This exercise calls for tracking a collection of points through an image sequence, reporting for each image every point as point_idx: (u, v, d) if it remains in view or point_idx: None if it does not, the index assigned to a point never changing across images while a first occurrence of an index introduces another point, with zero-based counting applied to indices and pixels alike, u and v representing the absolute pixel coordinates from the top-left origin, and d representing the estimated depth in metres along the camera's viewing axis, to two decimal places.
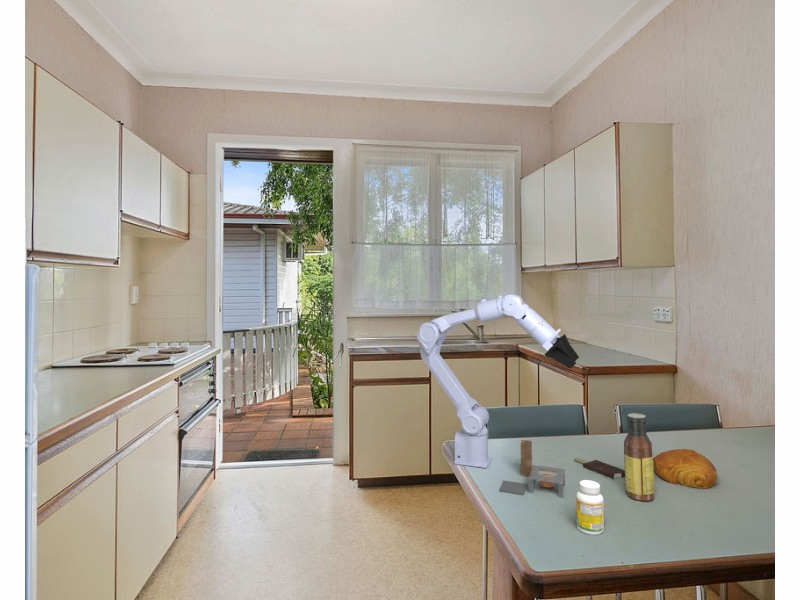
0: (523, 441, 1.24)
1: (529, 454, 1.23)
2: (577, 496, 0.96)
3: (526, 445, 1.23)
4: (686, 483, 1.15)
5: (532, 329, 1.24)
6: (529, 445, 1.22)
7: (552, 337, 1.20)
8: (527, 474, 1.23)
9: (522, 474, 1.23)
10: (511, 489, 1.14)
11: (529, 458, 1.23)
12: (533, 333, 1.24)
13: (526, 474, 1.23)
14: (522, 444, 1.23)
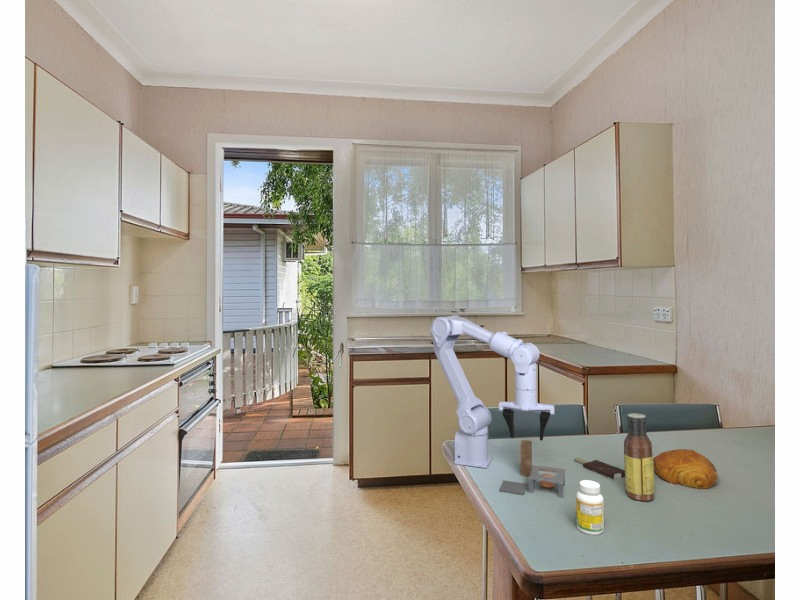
0: (523, 441, 1.24)
1: (529, 454, 1.23)
2: (577, 496, 0.96)
3: (526, 444, 1.23)
4: (686, 483, 1.15)
5: (519, 388, 1.22)
6: (529, 445, 1.22)
7: (510, 406, 1.24)
8: (527, 474, 1.23)
9: (522, 474, 1.23)
10: (511, 489, 1.14)
11: (529, 458, 1.23)
12: None
13: (526, 474, 1.23)
14: (522, 444, 1.23)
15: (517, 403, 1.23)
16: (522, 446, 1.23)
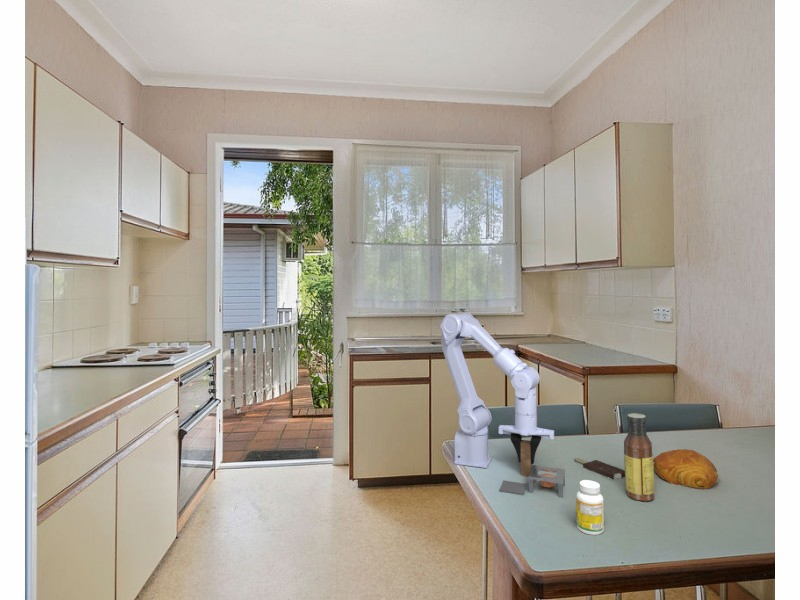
0: (523, 441, 1.24)
1: (529, 454, 1.23)
2: (577, 496, 0.96)
3: (526, 444, 1.23)
4: (687, 483, 1.15)
5: (518, 413, 1.22)
6: (529, 445, 1.22)
7: (510, 430, 1.24)
8: (527, 474, 1.23)
9: (522, 474, 1.23)
10: (511, 489, 1.14)
11: (529, 458, 1.23)
12: None
13: (526, 474, 1.23)
14: (522, 444, 1.23)
15: (517, 427, 1.23)
16: (522, 446, 1.23)
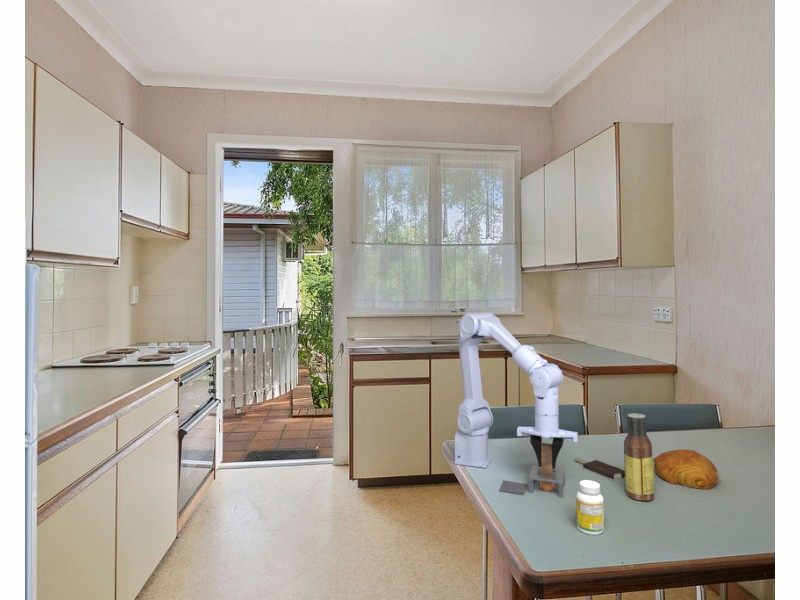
0: (544, 444, 1.15)
1: (550, 458, 1.14)
2: (577, 496, 0.96)
3: (548, 448, 1.14)
4: (687, 484, 1.15)
5: (537, 413, 1.14)
6: (550, 449, 1.14)
7: (529, 432, 1.15)
8: None
9: None
10: (511, 489, 1.14)
11: (550, 463, 1.14)
12: None
13: None
14: (543, 448, 1.14)
15: (537, 429, 1.14)
16: (543, 450, 1.14)
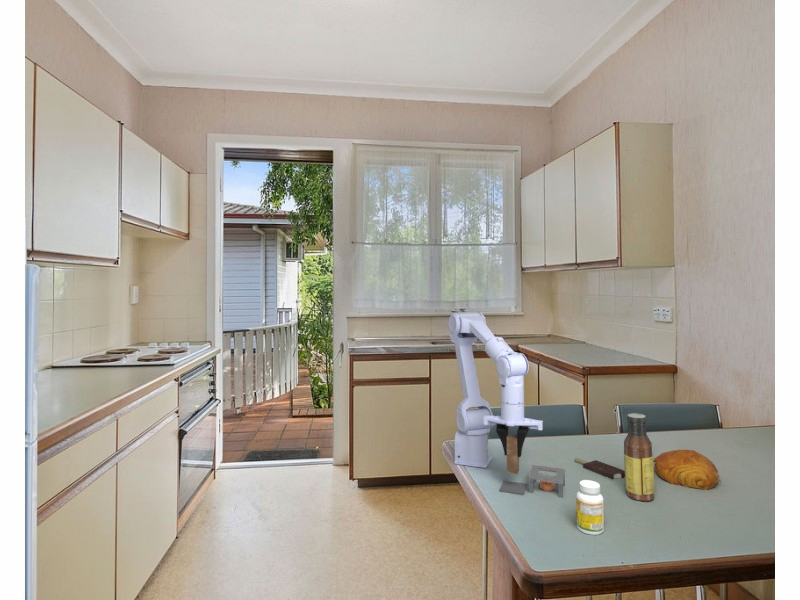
0: (509, 436, 1.15)
1: (516, 450, 1.14)
2: (577, 496, 0.96)
3: (513, 439, 1.14)
4: (687, 484, 1.14)
5: (501, 400, 1.15)
6: (516, 440, 1.14)
7: (495, 421, 1.15)
8: (514, 471, 1.14)
9: (508, 471, 1.14)
10: (511, 489, 1.14)
11: (516, 454, 1.14)
12: None
13: (512, 471, 1.14)
14: (508, 439, 1.14)
15: (503, 418, 1.14)
16: (508, 441, 1.14)
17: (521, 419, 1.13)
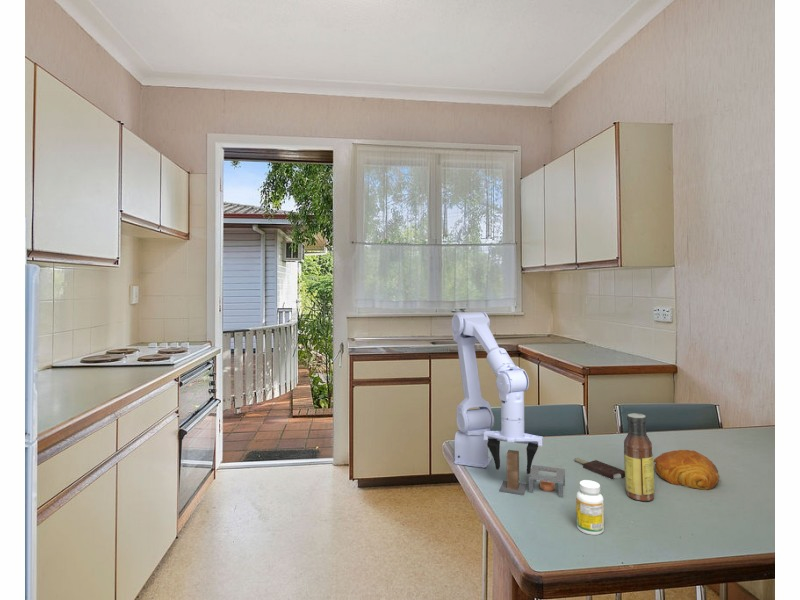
0: (510, 451, 1.16)
1: (516, 465, 1.14)
2: (577, 496, 0.96)
3: (513, 455, 1.14)
4: (687, 484, 1.14)
5: (501, 416, 1.15)
6: (516, 456, 1.14)
7: (495, 436, 1.15)
8: (514, 487, 1.14)
9: (508, 487, 1.15)
10: (511, 489, 1.14)
11: (516, 470, 1.14)
12: None
13: (513, 487, 1.14)
14: (508, 454, 1.14)
15: (503, 433, 1.14)
16: (508, 457, 1.14)
17: (521, 435, 1.13)
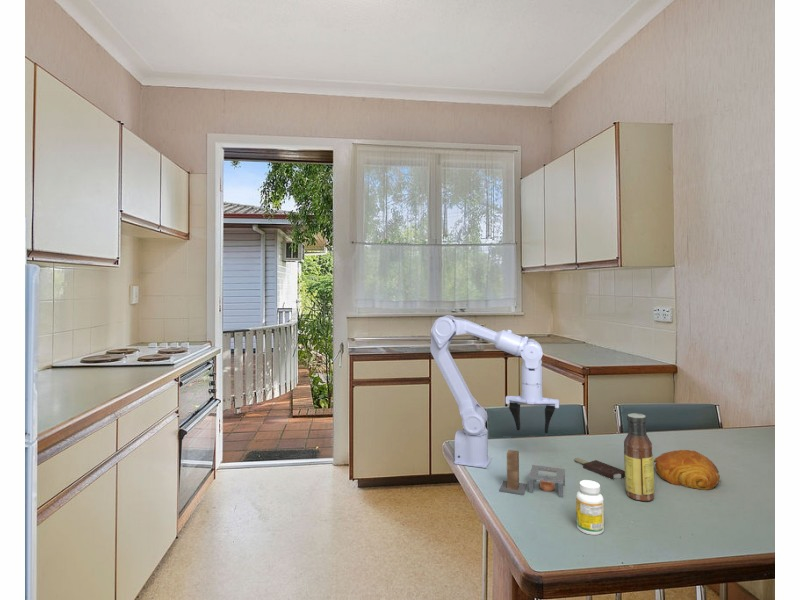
0: (510, 451, 1.16)
1: (516, 465, 1.14)
2: (577, 496, 0.96)
3: (513, 455, 1.14)
4: (688, 484, 1.14)
5: (528, 383, 1.26)
6: (516, 456, 1.14)
7: (516, 400, 1.29)
8: (514, 487, 1.14)
9: (508, 487, 1.15)
10: (511, 489, 1.14)
11: (516, 470, 1.14)
12: None
13: (513, 487, 1.14)
14: (508, 454, 1.14)
15: (523, 397, 1.28)
16: (508, 457, 1.14)
17: (540, 398, 1.26)
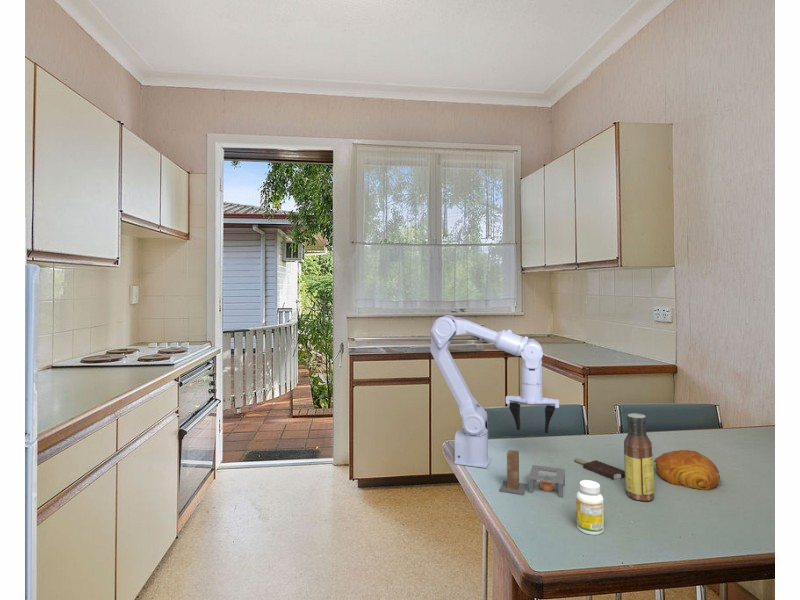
0: (510, 451, 1.16)
1: (516, 465, 1.14)
2: (577, 496, 0.96)
3: (513, 455, 1.14)
4: (688, 484, 1.14)
5: (529, 383, 1.26)
6: (516, 456, 1.14)
7: (516, 400, 1.29)
8: (514, 487, 1.14)
9: (508, 487, 1.15)
10: (511, 489, 1.14)
11: (516, 470, 1.14)
12: None
13: (513, 487, 1.14)
14: (508, 454, 1.14)
15: (523, 397, 1.28)
16: (508, 457, 1.14)
17: (540, 398, 1.27)
